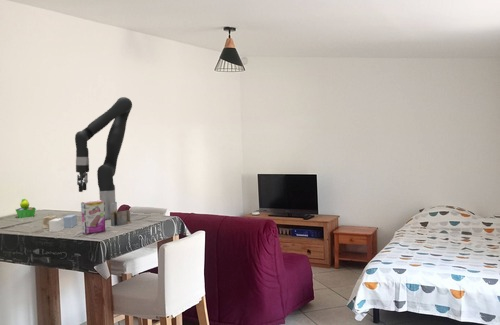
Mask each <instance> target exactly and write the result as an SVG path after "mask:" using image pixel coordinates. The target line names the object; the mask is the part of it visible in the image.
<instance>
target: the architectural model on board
mask: <svg viewBox="0 0 500 325" xmlns="http://www.w3.org/2000/svg"><path fill="white" fill-rule="evenodd" d="M128 224H131V210H127V209H126V210H122V211H118V209H117V210H113V211H112V212H111V219H110V226H111V227H115V226H122V225H128Z"/></svg>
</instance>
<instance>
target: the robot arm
mask: <svg viewBox="0 0 500 325" xmlns="http://www.w3.org/2000/svg"><path fill="white" fill-rule="evenodd" d="M132 108H133V103H132V101H131V99H130V98H128V97H125V96H123V97H122V96H121V97H119V98H118V99H117V100H116V101H115V102H114V103H113V105H112V106H111V107H110V108H109V109H107V110H106V111H104V113H102V114H101V115H99V116H97V118H95V119H94V120H92V121H91V122H89V124H88V125H87V126H86V127H85V128H83V129H82V130H80V131H77V132H76V133H75V137H74V141H75V148H76V149H75V150H76V151H75V153H76V154H75V172H76V173H78V174H77V176H76V177H77V178H76V180H77V182H76V183H77V186H78V193H79V192H80V193H83V192H84V191H87V190H88V189H87V188H88V187H87V184H88V182H89V181H88V177H89V176H88V173H89V172H90V158H89V157H90V156H89V153H90V152H89V148H88V141H89V140H91V139H92V138H93V137H94V136H95V135H96V134H98V133H99V132H101V131H102V130H103V129H104V128H105V127H107V126H108V125H109V124H110V123H111V122H112V121H113V122H112V124H111V126H110V129H109V131H108V135H107V138H106V144H105V145H106V148H105V149H106V151H105V152H106V153H105V158H104V160H103V164H101V165H100V166H99V167H98V168H97V170H96V173H97V174H96V177H97V185H98V190H99V191H98V195H99V200H101V201H104V203H105V220H111V212H112V211H113V210H117V211H118V206H117V205H118V203H117V200H116V185H115V184H114V176H115V174H116V171H117V170H116V169H117V163H118V159H119V155H120V152H121V148H122V146H123V143H124V142H123V141H124V139H125V132H126V128H127V122H128V119H129V115H130V113H131V110H132Z"/></svg>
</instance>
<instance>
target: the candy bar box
mask: <svg viewBox="0 0 500 325" xmlns="http://www.w3.org/2000/svg"><path fill="white" fill-rule="evenodd" d="M80 208H81V210H80V211H81V233H82V234H83V235H88V234H95V233H101V232H106V219H105V203H104V201H101V200H100V199H99V200H92V201H91V200H90V201H81V202H80Z"/></svg>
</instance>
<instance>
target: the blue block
mask: <svg viewBox="0 0 500 325" xmlns="http://www.w3.org/2000/svg"><path fill="white" fill-rule="evenodd" d="M77 217H78V216H77V214H67V215H66V216H63V217H62V218H63V220H64V229H70V228H73V227H74V228H75V227H76V226H77V225H78V218H77Z"/></svg>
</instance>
